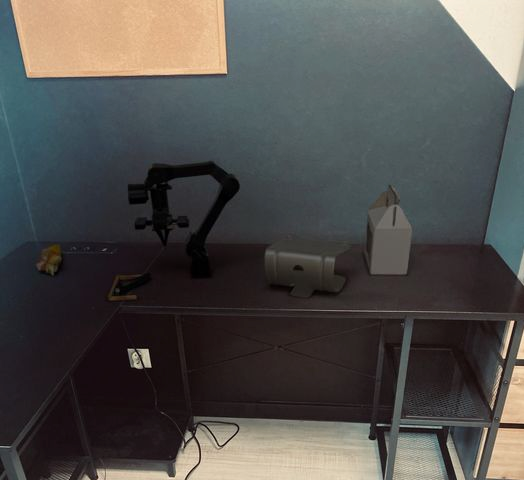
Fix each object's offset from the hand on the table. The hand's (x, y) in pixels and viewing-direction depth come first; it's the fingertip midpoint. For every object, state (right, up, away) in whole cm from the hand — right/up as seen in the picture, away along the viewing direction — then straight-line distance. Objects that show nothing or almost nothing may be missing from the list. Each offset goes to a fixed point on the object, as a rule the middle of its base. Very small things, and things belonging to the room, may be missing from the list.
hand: (165, 245), depth 191 cm
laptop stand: (+51, -14, -3) cm, 53 cm away
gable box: (+82, -4, +13) cm, 83 cm away
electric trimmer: (-11, -15, -1) cm, 19 cm away
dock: (-13, -16, -2) cm, 21 cm away
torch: (-47, -4, +19) cm, 50 cm away
